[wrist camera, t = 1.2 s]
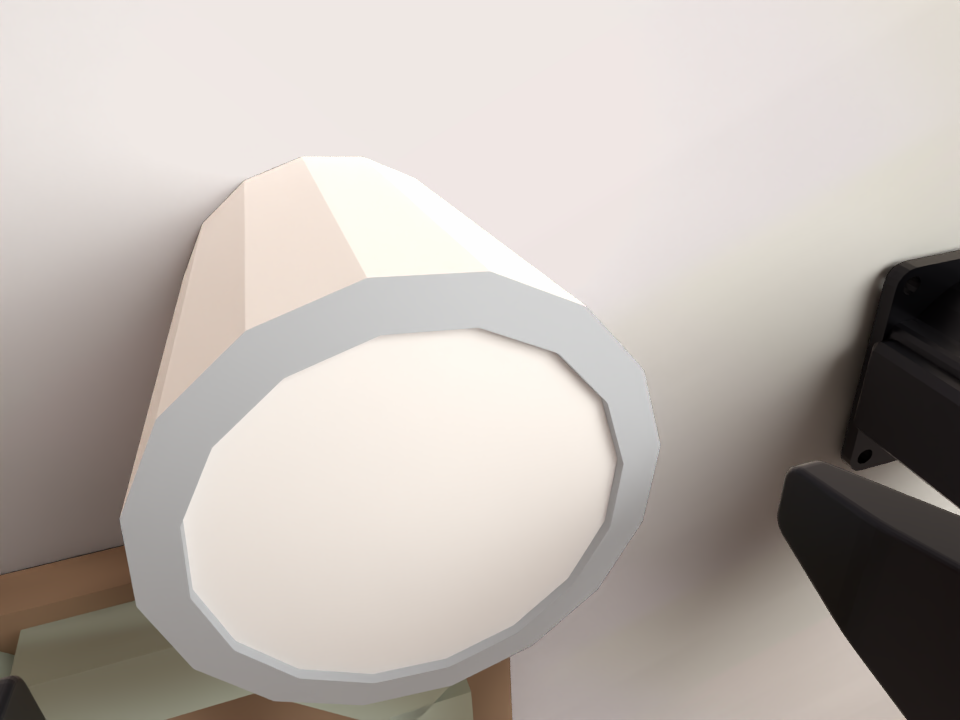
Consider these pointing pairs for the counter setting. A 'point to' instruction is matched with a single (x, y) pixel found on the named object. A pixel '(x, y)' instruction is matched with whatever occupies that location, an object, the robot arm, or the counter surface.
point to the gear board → (118, 584)
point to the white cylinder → (375, 444)
